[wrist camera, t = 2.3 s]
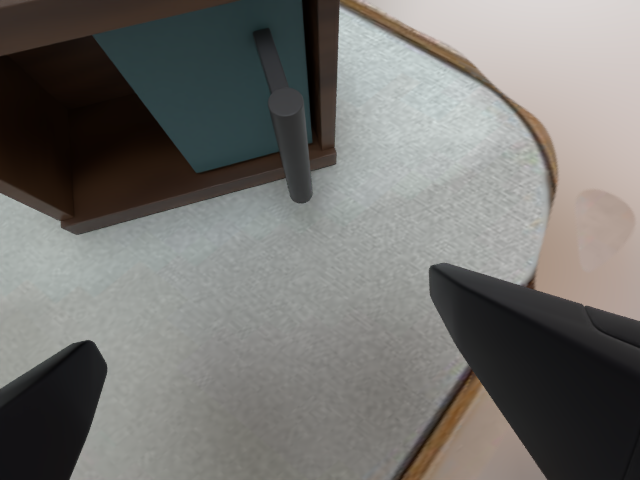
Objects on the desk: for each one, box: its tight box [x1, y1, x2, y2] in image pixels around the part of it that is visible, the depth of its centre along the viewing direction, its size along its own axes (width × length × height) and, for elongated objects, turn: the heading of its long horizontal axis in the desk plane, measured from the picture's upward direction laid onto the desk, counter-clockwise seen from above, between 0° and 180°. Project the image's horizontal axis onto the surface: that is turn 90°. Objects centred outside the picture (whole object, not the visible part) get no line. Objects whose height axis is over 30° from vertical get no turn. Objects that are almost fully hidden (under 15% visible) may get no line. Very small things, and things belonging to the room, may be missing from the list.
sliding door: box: [92, 0, 313, 203], centre depth 17 cm, size 6×9×11 cm
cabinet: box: [0, 0, 340, 234], centre depth 19 cm, size 11×20×15 cm, turn 107°
